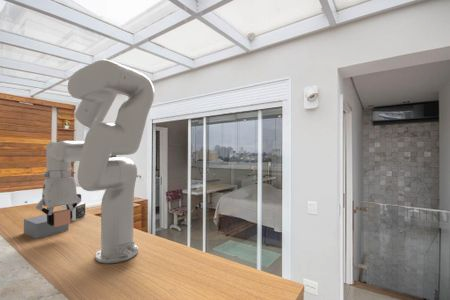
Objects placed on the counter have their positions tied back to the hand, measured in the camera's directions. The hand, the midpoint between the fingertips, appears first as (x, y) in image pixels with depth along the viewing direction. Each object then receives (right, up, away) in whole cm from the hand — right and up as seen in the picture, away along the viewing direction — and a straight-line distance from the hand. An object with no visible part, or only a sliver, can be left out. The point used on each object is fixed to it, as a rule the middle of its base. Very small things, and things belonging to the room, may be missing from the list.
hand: (60, 222), depth 87 cm
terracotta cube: (0, -1, 0) cm, 1 cm away
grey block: (-11, -6, +7) cm, 14 cm away
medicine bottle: (-11, -6, +25) cm, 28 cm away
